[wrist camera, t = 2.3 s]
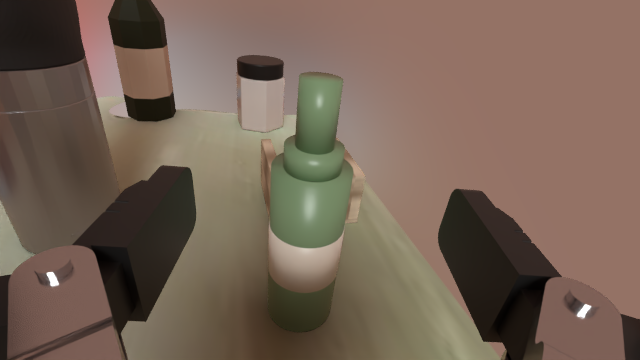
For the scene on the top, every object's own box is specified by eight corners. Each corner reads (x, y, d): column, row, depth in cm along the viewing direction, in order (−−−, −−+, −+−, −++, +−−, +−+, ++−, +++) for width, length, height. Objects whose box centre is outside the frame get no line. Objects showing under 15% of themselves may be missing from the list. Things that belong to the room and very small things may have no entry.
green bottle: (253, 311, 29) (251, 75, 18) (290, 270, 33) (305, 62, 23) (309, 345, 26) (343, 99, 16) (341, 296, 31) (383, 79, 21)
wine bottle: (147, 103, 68) (116, -80, 53) (184, 110, 67) (163, -76, 52) (117, 116, 61) (71, -91, 46) (158, 124, 60) (124, -86, 44)
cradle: (356, 222, 41) (365, 176, 37) (271, 230, 38) (273, 181, 35) (331, 178, 49) (337, 137, 46) (261, 182, 46) (261, 139, 43)
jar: (287, 120, 68) (290, 59, 62) (277, 135, 61) (279, 68, 55) (245, 113, 69) (244, 52, 62) (230, 128, 62) (227, 60, 56)
